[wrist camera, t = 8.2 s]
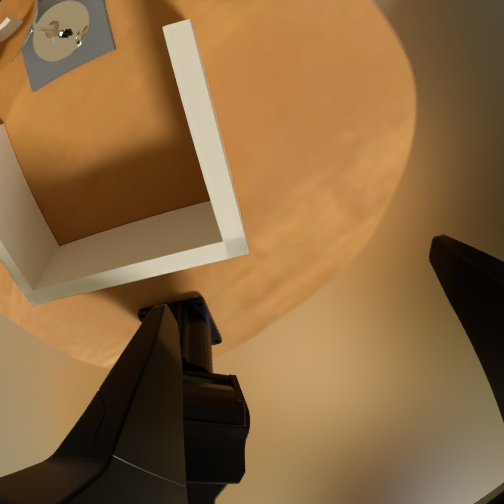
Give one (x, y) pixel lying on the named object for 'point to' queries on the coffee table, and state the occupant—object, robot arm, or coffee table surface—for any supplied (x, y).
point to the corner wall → (136, 233)
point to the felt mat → (91, 48)
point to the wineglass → (42, 29)
